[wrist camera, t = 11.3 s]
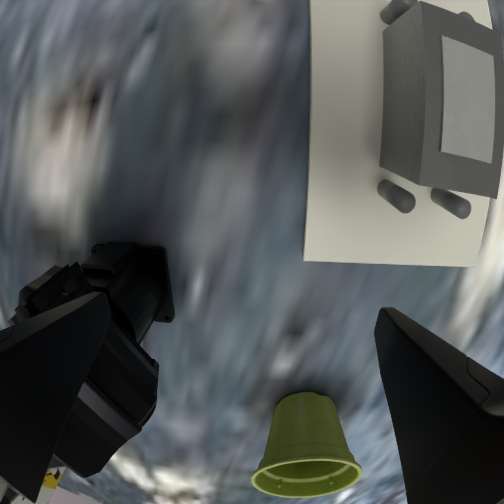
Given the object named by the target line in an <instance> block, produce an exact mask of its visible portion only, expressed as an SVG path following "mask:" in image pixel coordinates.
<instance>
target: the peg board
mask: <svg viewBox="0 0 504 504" xmlns="http://www.w3.org/2000/svg"><path fill="white" fill-rule="evenodd" d="M419 1H423V2H426V3H429V4H432V5H435V6H438V7H441V8H443V9H446V10H449V11H451V12H454V13H456V14H459V15H461V16H464V17H466V18H468V19H471V20H473V21H475V22H477V23H480V24H482V25H484V26H486V27H488V28H490V29H492V23H491V18H490V12H489V7H488V2H487V0H309V15H310V127H309V157H308V179H307V198H306V215H305V230H304V243H303V260H304V261H321V262H346V263H372V264H400V265H428V266H459V267H475V263H476V260H477V256H478V252H479V248H480V244H481V240H482V236H483V232H484V227H485V222H486V217H487V212H488V207H489V201H490V197H485V196H479V195H474V194H469V193H463V192H457V191H452V190H445V189H439V188H433V187H426V186H419V185H417V184H415V183H413V182H411V181H409V180H407V179H405V178H403V177H401V176H399V175H397V174H395V173H392V172H390V171H388V170H386V169H384V168H382V167H379V163H380V151H381V136H382V118H383V33H382V31H384V30H385V29H386V28H387V27H388V26H390V25H391V24H392V23H393V22H394V21H396V20H397V19H398V18H399V17H400V16H402V15H403V14H404V13H405V12H407V11H408V10H409V9H410V8H412V7H413V6H414V5H415V4H417V3H418V2H419Z"/></svg>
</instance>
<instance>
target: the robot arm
mask: <svg viewBox="0 0 504 504" xmlns="http://www.w3.org/2000/svg"><path fill="white" fill-rule="evenodd" d="M96 249H97V250H98V251H96ZM157 252H160V253H161V256H159V255H157ZM91 253H92V256H91V257H89V258H88V259H87V260H86V261H84V262H83V263H82V265H81V267H80V265H79V264H78V263H77V262H75V263H74V264H73V265H72V266H70V267H69V265H68V264H67V265H66V266H65V267H64V268H61V267H59V266H56V265H55V266H53V267H52V268H51V269H49V270H48V271H47V272H46V273H44V274H43V275H42V276H40V277H39V278H37V279H36V280H34V281H33V282H31V283H29V284H28V285H26V286H25V287H24V288H23V289H22V290H21V291H20V292H19V303H18V307H17V308H16V309H15V312H16V314H15V315H14V316H13V317H12V318H11V319H10V320H9V321H8V322H9V323H10V325H11V327H8V328H6V329H3V330H1V331H0V504H11V503H12V502H13V501H14V500H15V499H16V498H17V497H18V496H19V495H21V496H23V497H24V498H26V499H27V500H29V501H31V502H32V503H34V504H35V503H36V501H37V499H38V495H39V492H40V489H41V486H42V483H43V481H44V478H45V475H46V472H47V469H53V468H61V467H68V468H69V469H70V470H72V471H73V472H74V473H76V474H77V475H79V476H80V477H82V478H86V477H89V476H91V475H94V474H96V473H98V472H100V471H101V470H102V469H103V467H104V466H105V465H106V463H107V462H108V461H109V460H110V458H111V457H112V456H113V455H114V453H115V452H116V451H117V450H118V449H119V448H120V447H121V446H122V445H123V444H124V443H126V442H127V441H128V440H129V439H131V438H132V437H134V436H135V435H137V434H138V433H139V432H141V430H142V427H143V426H144V425H145V424H146V423H147V421H148V420H149V419H150V417H151V416H152V414H153V412H154V410H155V407H156V402H157V388H158V374H159V364H158V363H157V362H156V361H155V359H152V358H151V357H150V356H149V355H148V354H147V353H146V352H145V350H144V349H143V348H142V347H141V346H140V344H141V342H142V340H143V339H144V337H145V335H146V333H147V332H148V330H149V328H150V327H151V325H152V323H153V321H157V322H166V323H170V322H172V321H173V319H174V310H173V303H172V296H171V289H170V281H169V273H168V265H167V256H166V251H165V249H164V248H162V247H157V246H139V245H138V244H136V243H125V242H108V243H107V244H96V245H94V246H93V247H92V249H91ZM80 269H81V270H80ZM166 315H168V316H169V317H170V318H169V317H167V316H166ZM374 336H375V342H376V348H377V354H378V361H379V368H380V374H381V378H382V382H383V386H384V390H385V394H386V398H387V402H388V406H389V410H390V414H391V418H392V423H393V427H394V432H395V436H396V441H397V446H398V450H399V455H400V461H401V466H402V471H403V477H404V483H405V489H406V491H407V492H406V496H407V503H408V504H504V379H503V378H501V377H500V376H498V375H496V374H495V373H493V372H491V371H490V370H488V369H486V368H485V367H483V366H482V365H480V364H479V363H477V362H476V361H474V360H473V359H471V358H470V357H467V355H465V354H464V353H462V352H461V351H459V350H458V349H456V348H455V347H453V346H452V345H450V344H449V343H447V342H446V341H444V340H443V339H441V338H440V337H438V336H437V335H435V334H434V333H432V332H431V331H429V330H428V329H426V328H424V327H423V326H421V325H420V324H418V323H417V322H415V321H414V320H412V319H411V318H409V317H408V316H406V315H404V314H403V313H401V312H400V311H398V310H397V309H395V308H393V307H382V308H381V309H380V311H379V314H378V318H377V322H376V326H375V330H374Z"/></svg>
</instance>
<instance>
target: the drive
mask: <svg viewBox="0 0 504 504" xmlns="http://www.w3.org/2000/svg"><path fill="white" fill-rule="evenodd" d="M382 33H383V118H382V136H381V151H380V163H379V167H382V168H384V169H386V170H388V171H390V172H392V173H395V174H397V175H399V176H401V177H403V178H405V179H407V180H409V181H411V182H413V183H415V184H417V185H419V186H426V187H433V188H439V189H445V190H452V191H457V192H463V193H469V194H474V195H479V196H485V197H490V198H494V199H497V195H498V188H499V182H500V175H501V167H502V158H503V147H504V59H503V48H502V40H501V34H500V33H498V32H496V31H494V30H492V29H490V28H488V27H486V26H484V25H482V24H480V23H477V22H475V21H473V20H471V19H468V18H466V17H464V16H461V15H459V14H456V13H454V12H451V11H449V10H446V9H443V8H441V7H438V6H435V5H432V4H429V3H426V2H423V1H419V2H418V3H417V4H415V5H414V6H413V7H412V8H410V9H409V10H408V11H407V12H405V13H404V14H403V15H402V16H400V17H399V18H398V19H397V20H396V21H394V22H393V23H392V24H391V25H390V26H388V27H387V28H386V29H385V30H384V31H382Z"/></svg>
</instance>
